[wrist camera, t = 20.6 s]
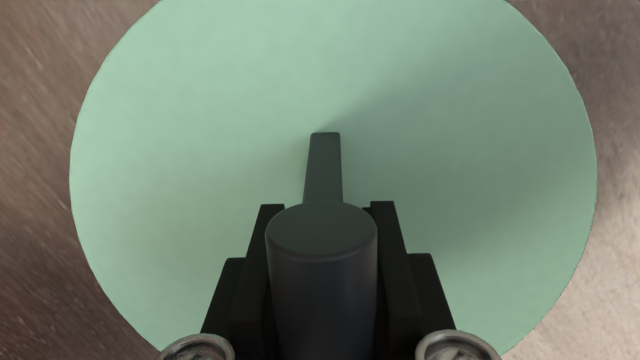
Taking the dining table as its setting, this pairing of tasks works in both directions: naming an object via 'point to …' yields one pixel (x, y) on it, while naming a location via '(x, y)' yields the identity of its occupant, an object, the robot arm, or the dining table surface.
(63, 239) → the dining table surface
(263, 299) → the robot arm
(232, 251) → the lid
